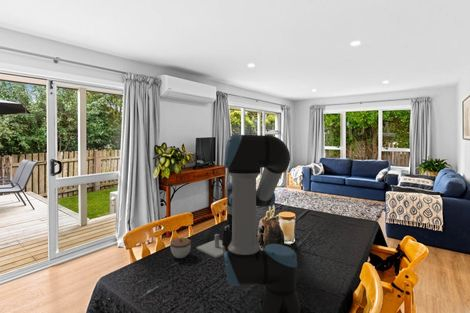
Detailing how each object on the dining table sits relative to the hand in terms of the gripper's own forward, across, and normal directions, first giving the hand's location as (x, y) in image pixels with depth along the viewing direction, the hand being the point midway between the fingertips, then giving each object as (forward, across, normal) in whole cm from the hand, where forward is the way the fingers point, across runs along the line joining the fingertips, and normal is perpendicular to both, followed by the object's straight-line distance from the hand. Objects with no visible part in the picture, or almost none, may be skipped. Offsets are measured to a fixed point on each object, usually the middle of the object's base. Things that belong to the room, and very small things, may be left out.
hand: (233, 255), depth 138 cm
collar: (0, 0, 0) cm, 0 cm away
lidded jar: (+2, -18, +22) cm, 29 cm away
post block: (+1, +1, +14) cm, 15 cm away
